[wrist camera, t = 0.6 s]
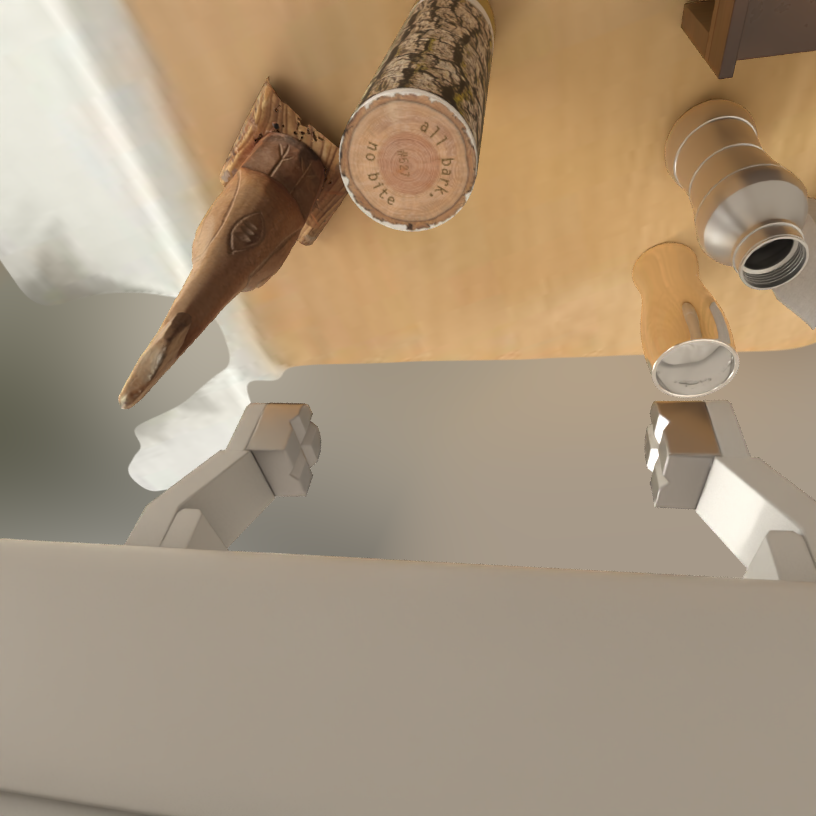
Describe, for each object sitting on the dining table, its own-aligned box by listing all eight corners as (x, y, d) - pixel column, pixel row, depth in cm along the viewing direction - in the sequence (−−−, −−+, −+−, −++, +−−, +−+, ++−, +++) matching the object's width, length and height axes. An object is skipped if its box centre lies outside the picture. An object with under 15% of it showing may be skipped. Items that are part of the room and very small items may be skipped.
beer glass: (662, 309, 60) (690, 411, 50) (612, 276, 58) (630, 376, 48) (718, 261, 55) (762, 363, 45) (666, 224, 53) (699, 323, 43)
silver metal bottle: (644, 160, 49) (689, 293, 36) (691, 78, 44) (765, 196, 31) (711, 183, 50) (780, 322, 36) (765, 104, 45) (869, 232, 31)
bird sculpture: (376, 152, 52) (270, 396, 30) (318, 240, 60) (200, 487, 38) (267, 70, 48) (58, 283, 27) (220, 176, 56) (27, 408, 34)
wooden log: (497, -27, 41) (478, 88, 24) (494, 76, 46) (476, 231, 29) (406, -20, 42) (326, 94, 26) (412, 80, 47) (349, 231, 30)
